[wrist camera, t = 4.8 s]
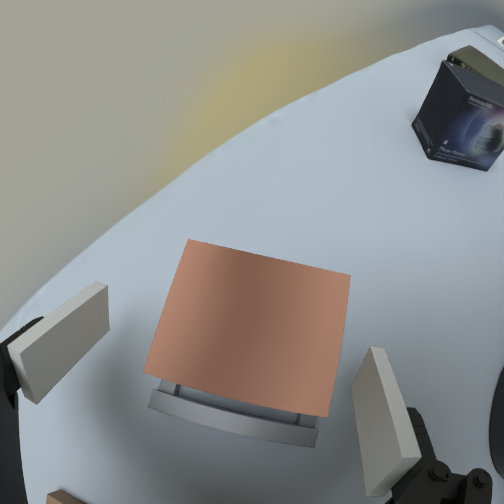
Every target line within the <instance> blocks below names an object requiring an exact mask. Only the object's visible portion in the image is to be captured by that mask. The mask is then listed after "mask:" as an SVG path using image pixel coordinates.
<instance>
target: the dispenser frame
mask: <svg viewBox="0 0 504 504" xmlns="http://www.w3.org/2000/svg"><path fill="white" fill-rule="evenodd" d="M179 387H180V384H176V383H173V382H170V381H167V380H164V379H162V380H161V384H160V387H159V390H155V389H153V391H152V394H151V398H150V401H149V405H148V408H151V409H154V410H157V411H159V412H162V413H165V414H168V415H171V416H174V417H177V418H180V419H184V420H187V421H190V422H193V423H197V424H200V425H204V426H207V427H211V428H215V429H218V430H222V431H226V432H230V433H234V434H239V435H243V436H247V437H252V438H257V439H262V440H267V441H272V442H278V443H284V444H290V445H296V446H303V447H311V448H314V447H315V443H316V439H317V435H318V431H319V429H317V428H314V426H315V422H316V418H317V416H314V415H307V414H301V413H298V416H297V420H296V424H295V423H290V422H284V421H278V420H273V419H268V418H263V417H258V416H254V415H249V414H245V413H241V412H236V411H232V410H228V409H224V408H220V407H217V406H213V405H209V404H206V403H202V402H199V401H195V400H192V399H189V398H185V397H182V396H179V395H177V394H178V391H179Z"/></svg>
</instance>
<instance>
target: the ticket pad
mask: <svg viewBox="0 0 504 504" xmlns="http://www.w3.org/2000/svg"><path fill="white" fill-rule="evenodd" d="M350 276H351V275H347V274H343V273H338V272H334V271H329V270H325V269H320V268H316V267H311V266H307V265H302V264H298V263H293V262H289V261H284V260H280V259H275V258H271V257H266V256H262V255H257V254H253V253H248V252H244V251H239V250H235V249H231V248H226V247H222V246H217V245H213V244H208V243H204V242H199V241H195V240H190V239H188V241H187V244H186V246H185V249H184V252H183V254H182V257H181V260H180V263H179V265H178V268H177V271H176V274H175V276H174V279H173V282H172V285H171V288H170V291H169V294H168V297H167V299H166V302H165V305H164V308H163V311H162V314H161V317H160V320H159V323H158V326H157V330H156V333H155V336H154V339H153V342H152V345H151V348H150V352H149V355H148V358H147V362H146V365H145V368H144V373H147V374H150V375H152V376H155V377H158V378H161V379H164V380H167V381H170V382H173V383H176V384H180V385H183V386H186V387H189V388H193V389H196V390H200V391H203V392H207V393H210V394H214V395H218V396H221V397H225V398H229V399H233V400H237V401H241V402H246V403H250V404H255V405H259V406H264V407H269V408H274V409H279V410H284V411H290V412H295V413H301V414H307V415H314V416H321V417H328V412H329V407H330V403H331V398H332V393H333V388H334V383H335V378H336V373H337V367H338V362H339V356H340V350H341V344H342V337H343V331H344V324H345V317H346V310H347V302H348V294H349V285H350Z"/></svg>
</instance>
